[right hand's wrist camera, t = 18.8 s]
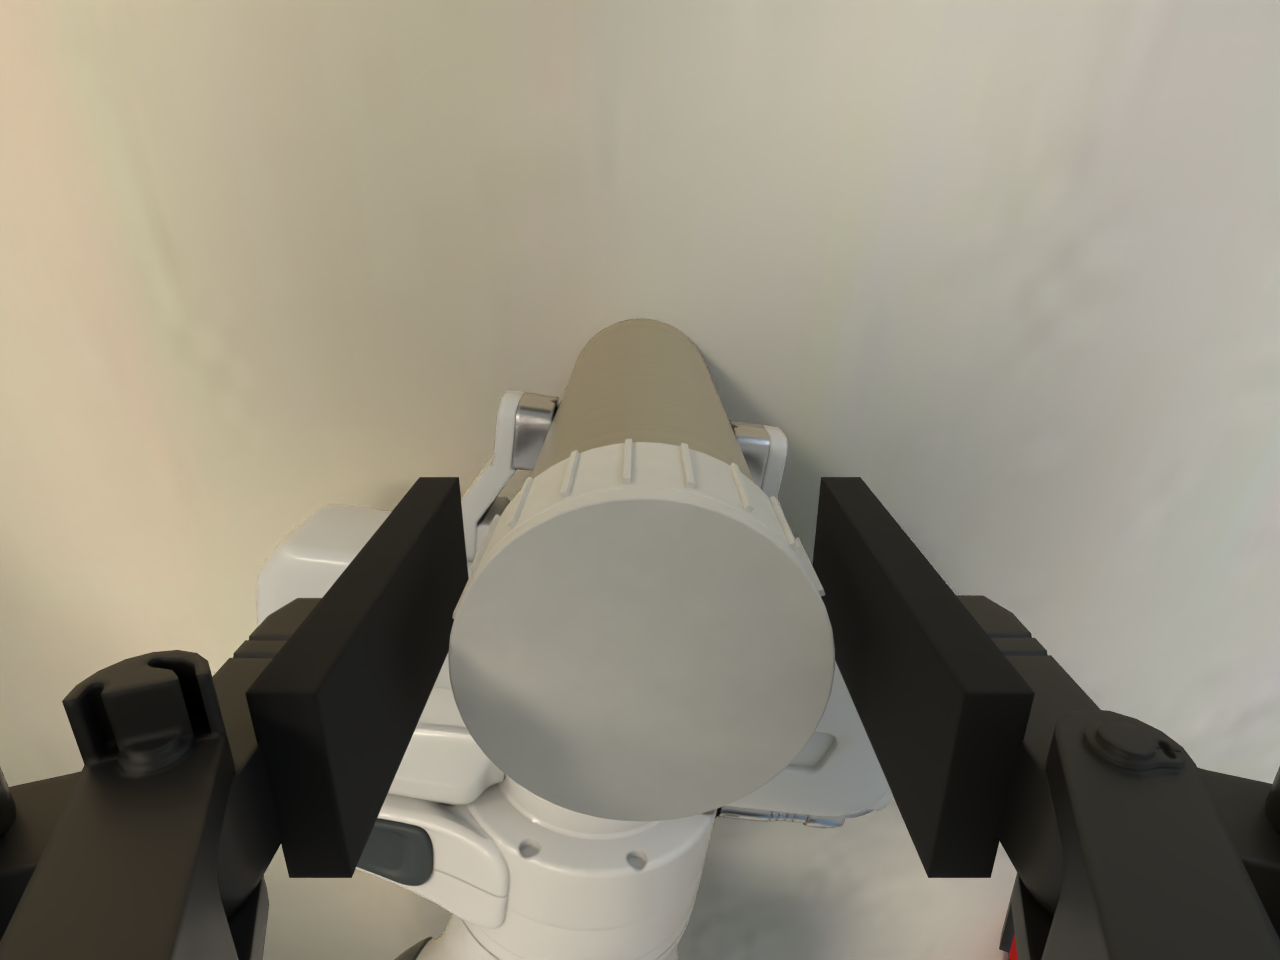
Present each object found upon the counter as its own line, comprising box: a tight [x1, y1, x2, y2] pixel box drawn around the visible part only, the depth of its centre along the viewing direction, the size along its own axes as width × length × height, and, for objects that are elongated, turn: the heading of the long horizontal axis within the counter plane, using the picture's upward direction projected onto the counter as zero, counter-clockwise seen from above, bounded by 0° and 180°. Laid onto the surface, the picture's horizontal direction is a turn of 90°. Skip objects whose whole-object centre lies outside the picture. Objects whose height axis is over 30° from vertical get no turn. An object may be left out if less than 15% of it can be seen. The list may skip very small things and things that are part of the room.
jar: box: [530, 319, 755, 483], centre depth 18 cm, size 5×5×16 cm
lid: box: [448, 439, 835, 822], centre depth 11 cm, size 6×6×2 cm
